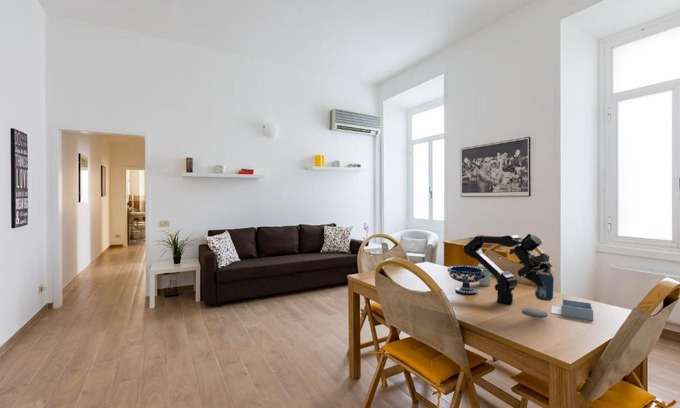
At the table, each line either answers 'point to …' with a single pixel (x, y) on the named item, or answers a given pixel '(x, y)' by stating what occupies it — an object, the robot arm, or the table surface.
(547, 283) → the soda can
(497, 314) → the table surface
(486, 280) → the coffee cup
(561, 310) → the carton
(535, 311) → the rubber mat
